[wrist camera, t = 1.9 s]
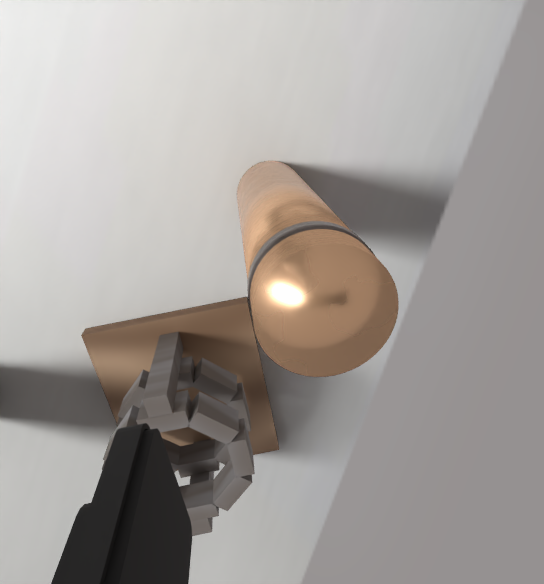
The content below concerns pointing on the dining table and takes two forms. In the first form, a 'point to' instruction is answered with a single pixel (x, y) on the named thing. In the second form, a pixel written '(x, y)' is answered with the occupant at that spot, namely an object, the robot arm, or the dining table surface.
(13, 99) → the dining table surface
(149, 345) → the collar stand
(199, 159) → the dining table surface
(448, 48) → the dining table surface
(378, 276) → the copper tube
